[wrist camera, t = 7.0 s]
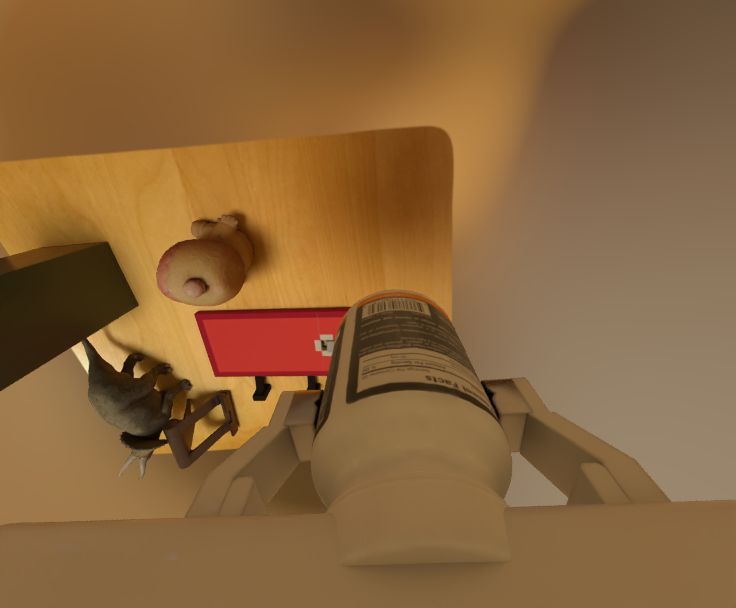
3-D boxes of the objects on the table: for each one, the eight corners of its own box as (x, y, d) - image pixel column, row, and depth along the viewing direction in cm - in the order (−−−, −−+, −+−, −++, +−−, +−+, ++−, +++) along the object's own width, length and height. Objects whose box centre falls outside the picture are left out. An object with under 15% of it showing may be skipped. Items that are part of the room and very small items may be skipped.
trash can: (138, 305, 43) (-25, 406, 25) (78, 310, 43) (-122, 412, 26) (107, 241, 39) (-115, 310, 21) (40, 247, 39) (-228, 319, 22)
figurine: (188, 206, 36) (130, 238, 23) (252, 210, 38) (231, 241, 25) (201, 280, 41) (158, 341, 28) (258, 280, 42) (242, 337, 30)
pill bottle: (402, 395, 16) (436, 675, 8) (315, 345, 15) (231, 619, 6) (476, 325, 14) (642, 602, 5) (382, 259, 13) (401, 488, 4)
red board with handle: (402, 387, 48) (403, 305, 42) (403, 400, 46) (404, 314, 39) (225, 388, 50) (199, 309, 43) (216, 400, 47) (188, 318, 41)
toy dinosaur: (96, 322, 44) (14, 371, 34) (145, 311, 43) (75, 358, 33) (172, 423, 54) (125, 484, 44) (213, 416, 53) (175, 477, 43)
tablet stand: (240, 427, 54) (218, 470, 46) (197, 426, 54) (168, 469, 46) (230, 390, 50) (204, 431, 42) (184, 389, 50) (151, 430, 42)
